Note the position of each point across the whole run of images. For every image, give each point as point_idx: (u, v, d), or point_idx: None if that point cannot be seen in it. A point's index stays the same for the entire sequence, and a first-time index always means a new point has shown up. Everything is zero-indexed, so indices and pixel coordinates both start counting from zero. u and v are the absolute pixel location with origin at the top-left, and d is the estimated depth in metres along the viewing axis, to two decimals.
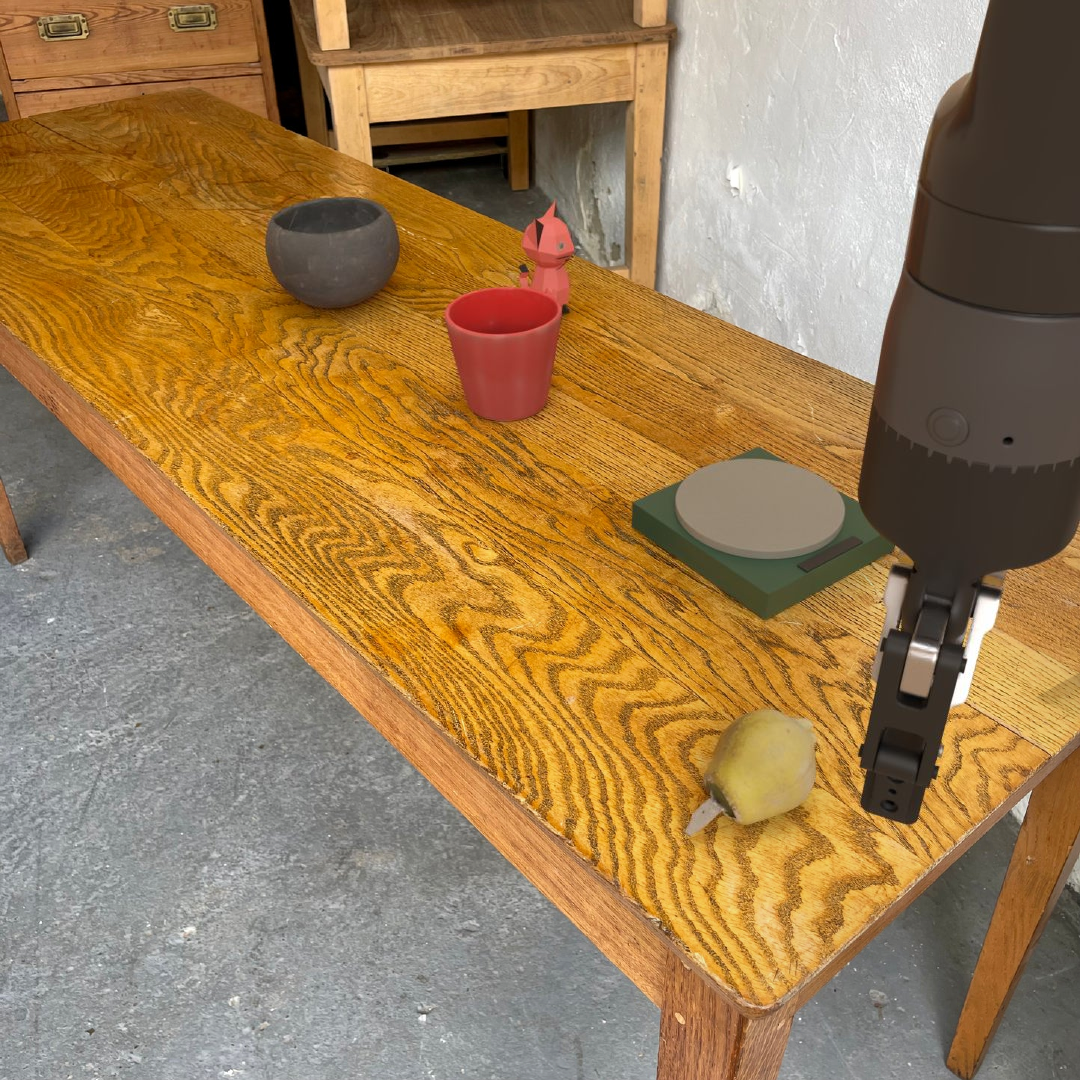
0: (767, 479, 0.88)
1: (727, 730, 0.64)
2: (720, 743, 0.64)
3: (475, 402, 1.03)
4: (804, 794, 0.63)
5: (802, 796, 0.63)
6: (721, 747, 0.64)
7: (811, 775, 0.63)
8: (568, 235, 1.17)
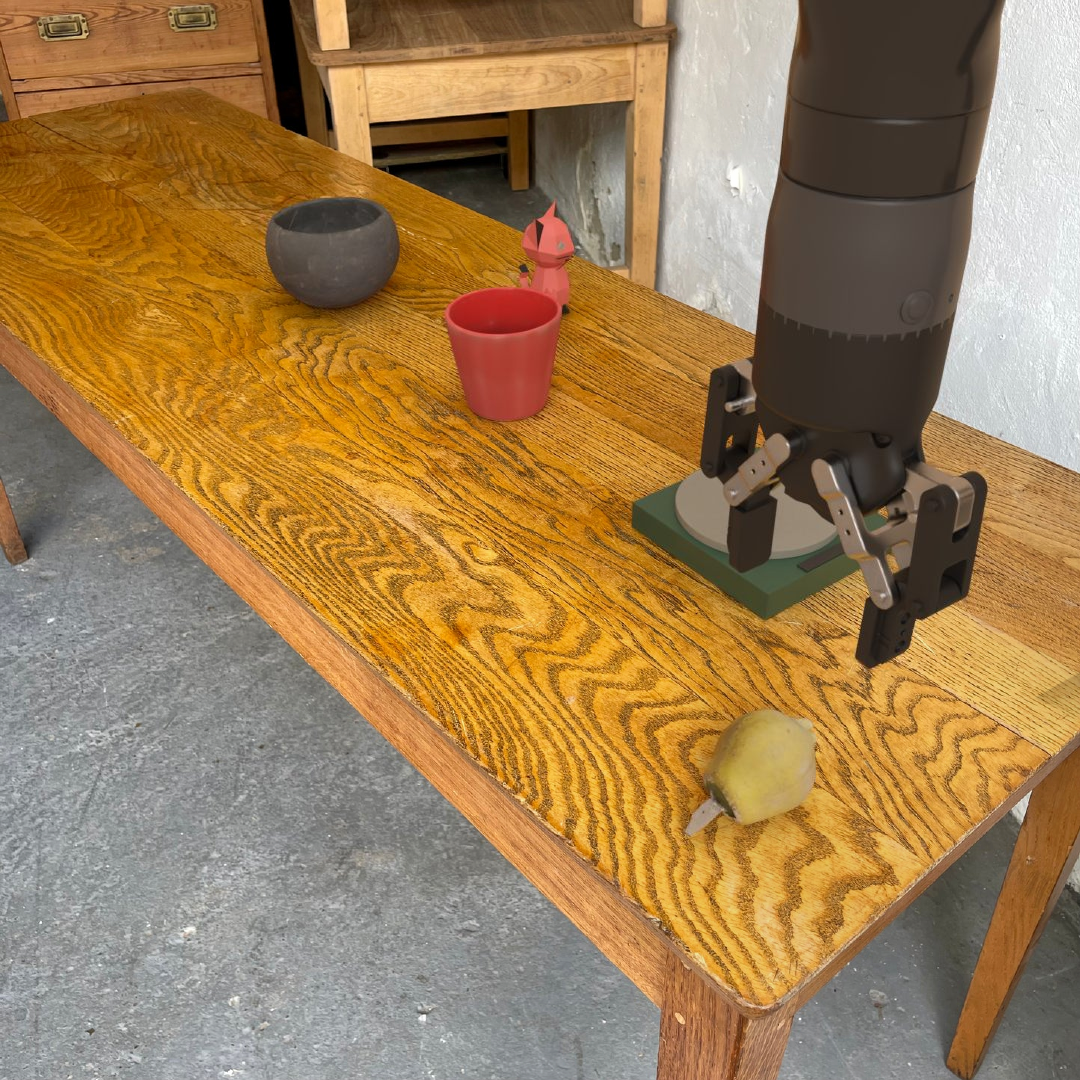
0: None
1: (727, 730, 0.64)
2: (720, 743, 0.64)
3: (475, 402, 1.03)
4: (804, 794, 0.63)
5: (802, 796, 0.63)
6: (721, 747, 0.64)
7: (811, 775, 0.63)
8: (568, 235, 1.17)
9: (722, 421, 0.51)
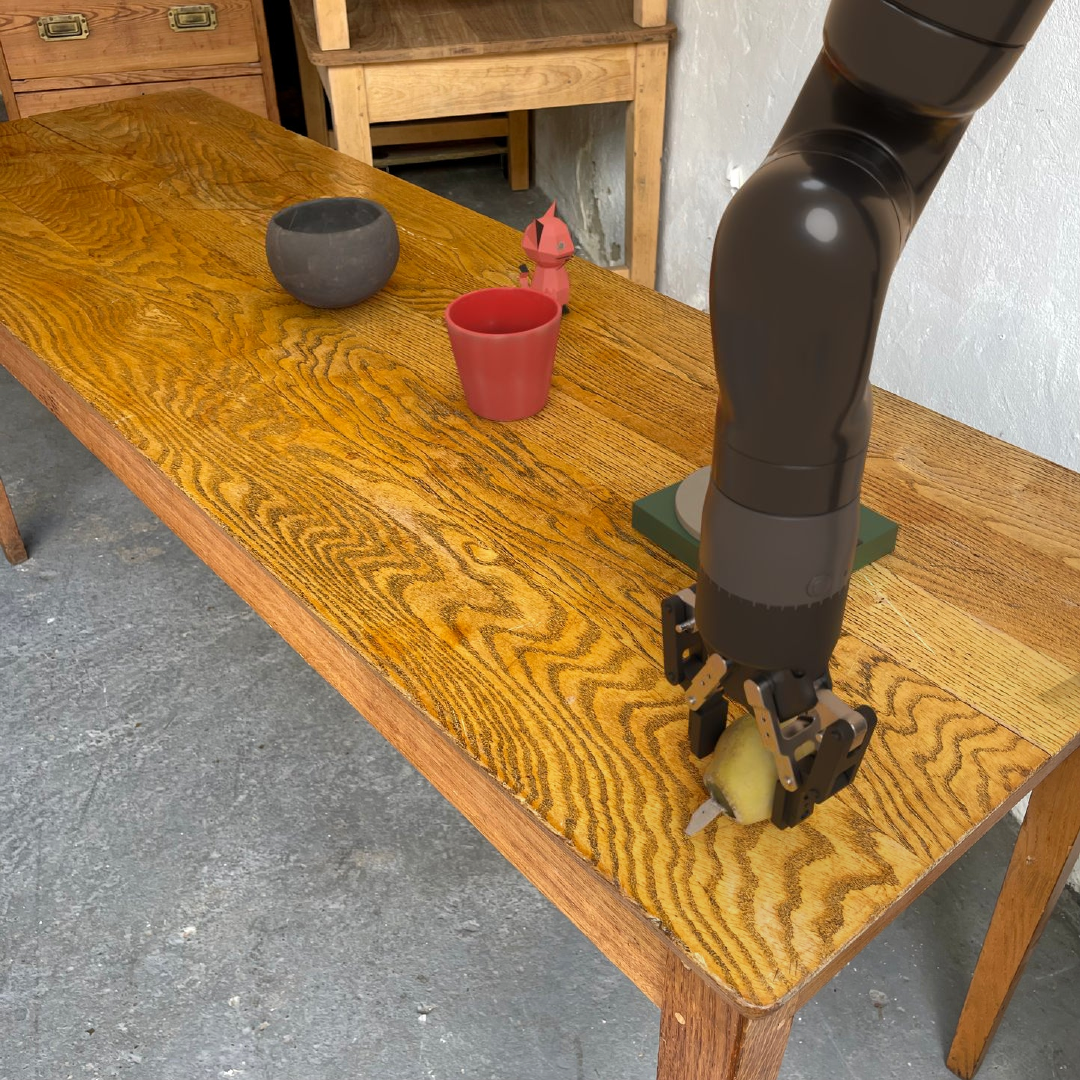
0: None
1: (727, 730, 0.64)
2: (720, 743, 0.64)
3: (475, 402, 1.03)
4: None
5: None
6: (721, 747, 0.64)
7: None
8: (568, 235, 1.17)
9: (675, 640, 0.63)
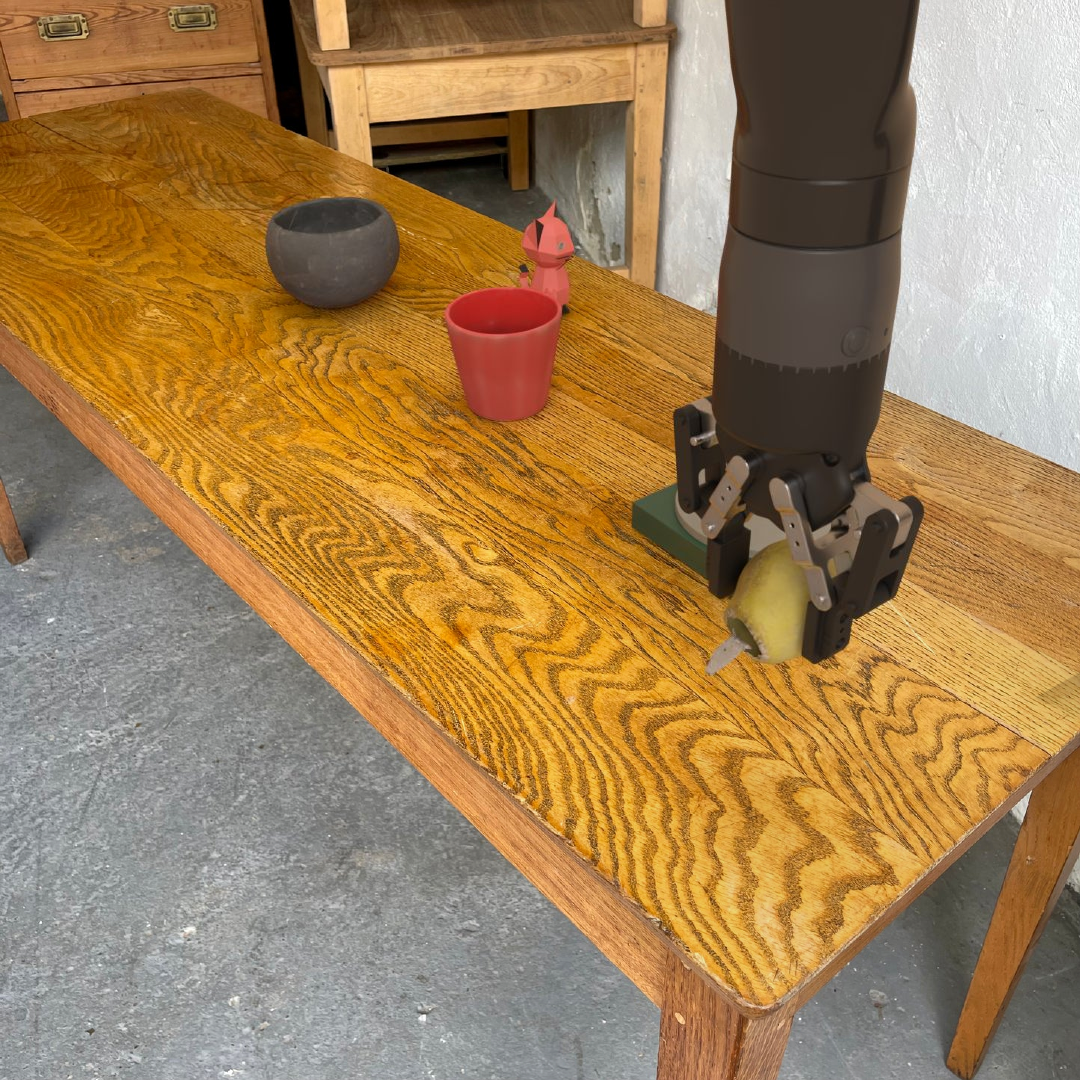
0: None
1: (750, 561, 0.57)
2: (742, 576, 0.57)
3: (475, 402, 1.03)
4: None
5: None
6: (743, 579, 0.57)
7: None
8: (568, 235, 1.17)
9: (690, 456, 0.56)
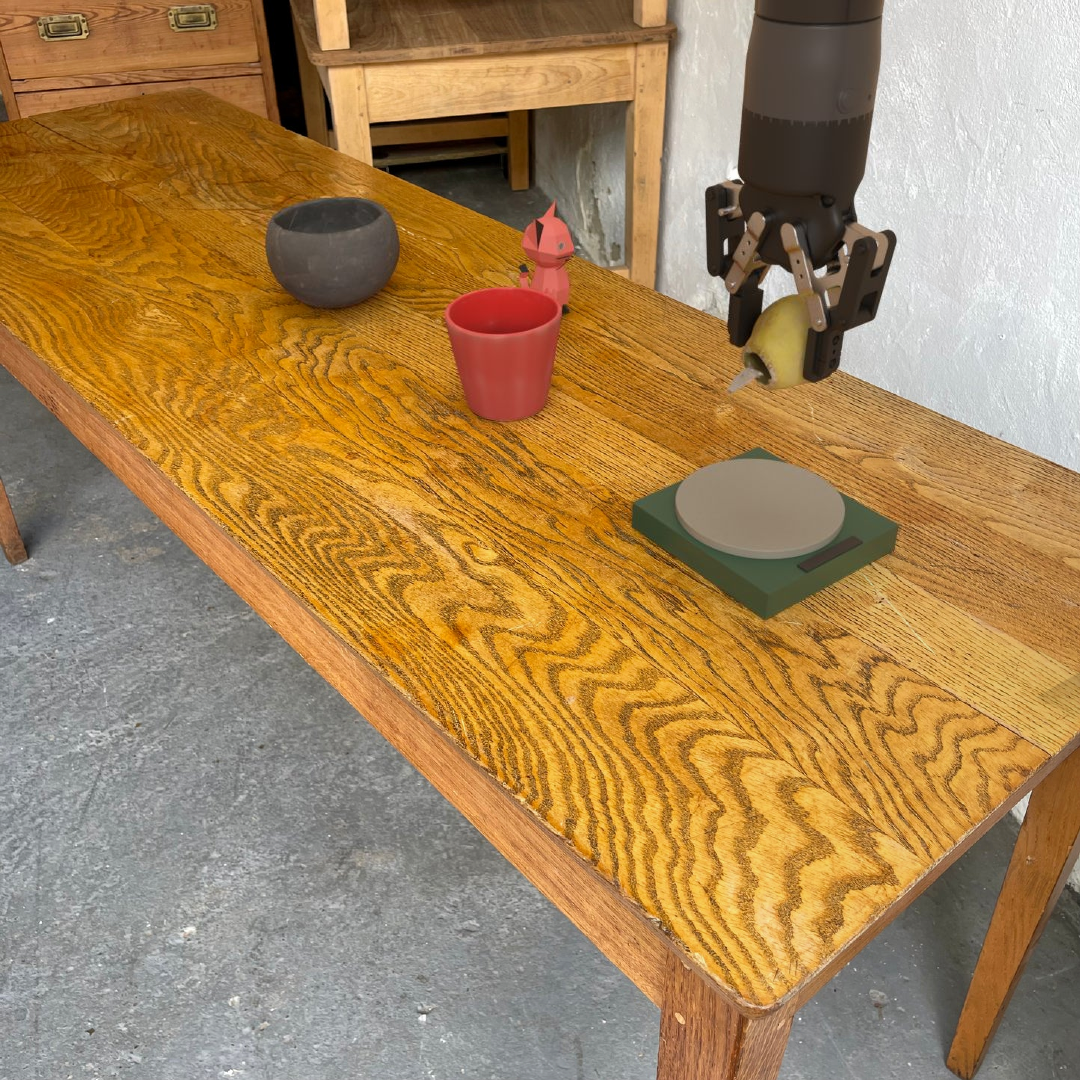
0: (767, 479, 0.88)
1: (762, 312, 0.74)
2: (756, 322, 0.73)
3: (475, 402, 1.03)
4: None
5: None
6: (757, 324, 0.73)
7: None
8: (568, 235, 1.17)
9: (718, 225, 0.72)
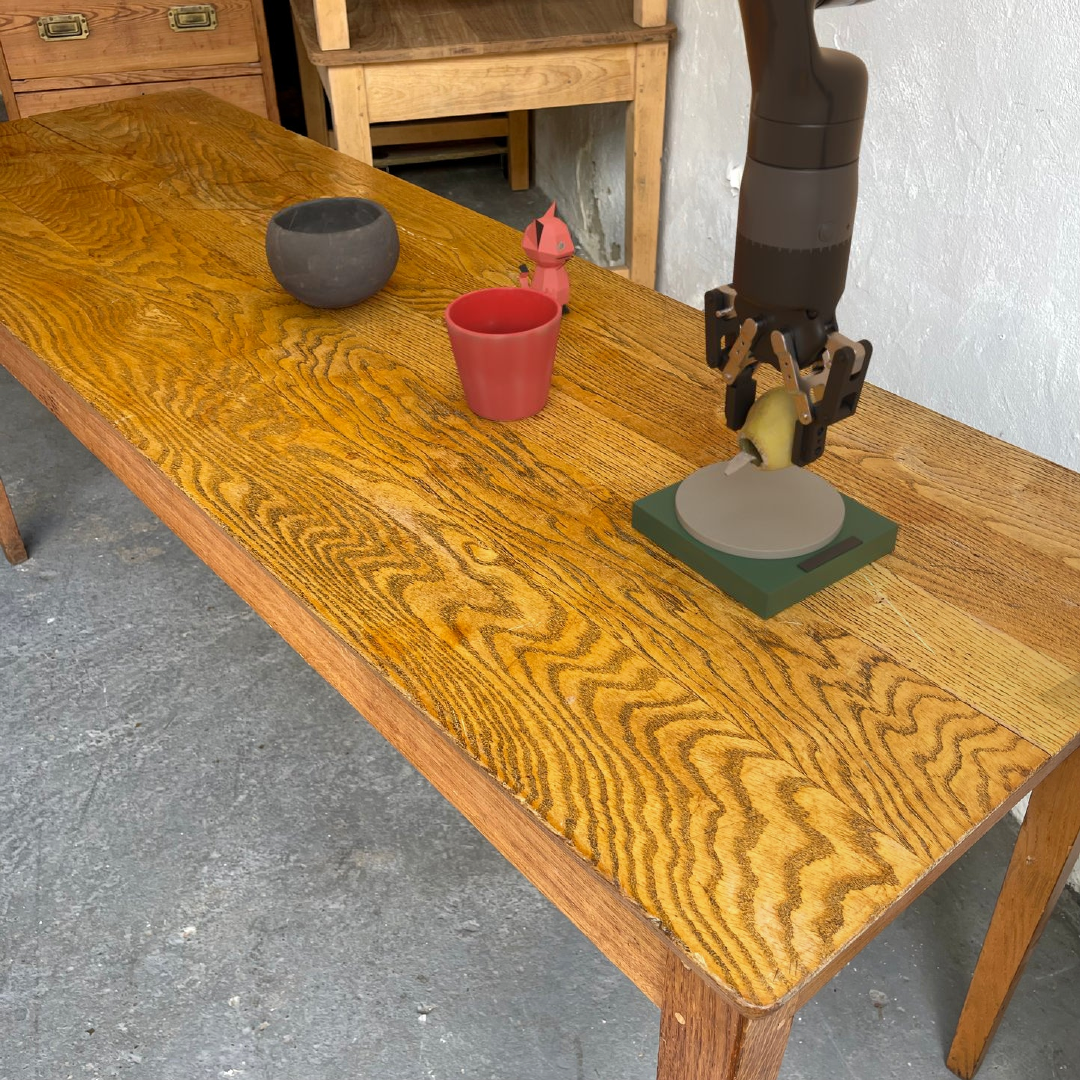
0: (767, 479, 0.88)
1: (755, 401, 0.82)
2: (750, 410, 0.82)
3: (475, 402, 1.03)
4: None
5: None
6: (751, 412, 0.82)
7: None
8: (568, 235, 1.17)
9: (715, 325, 0.81)
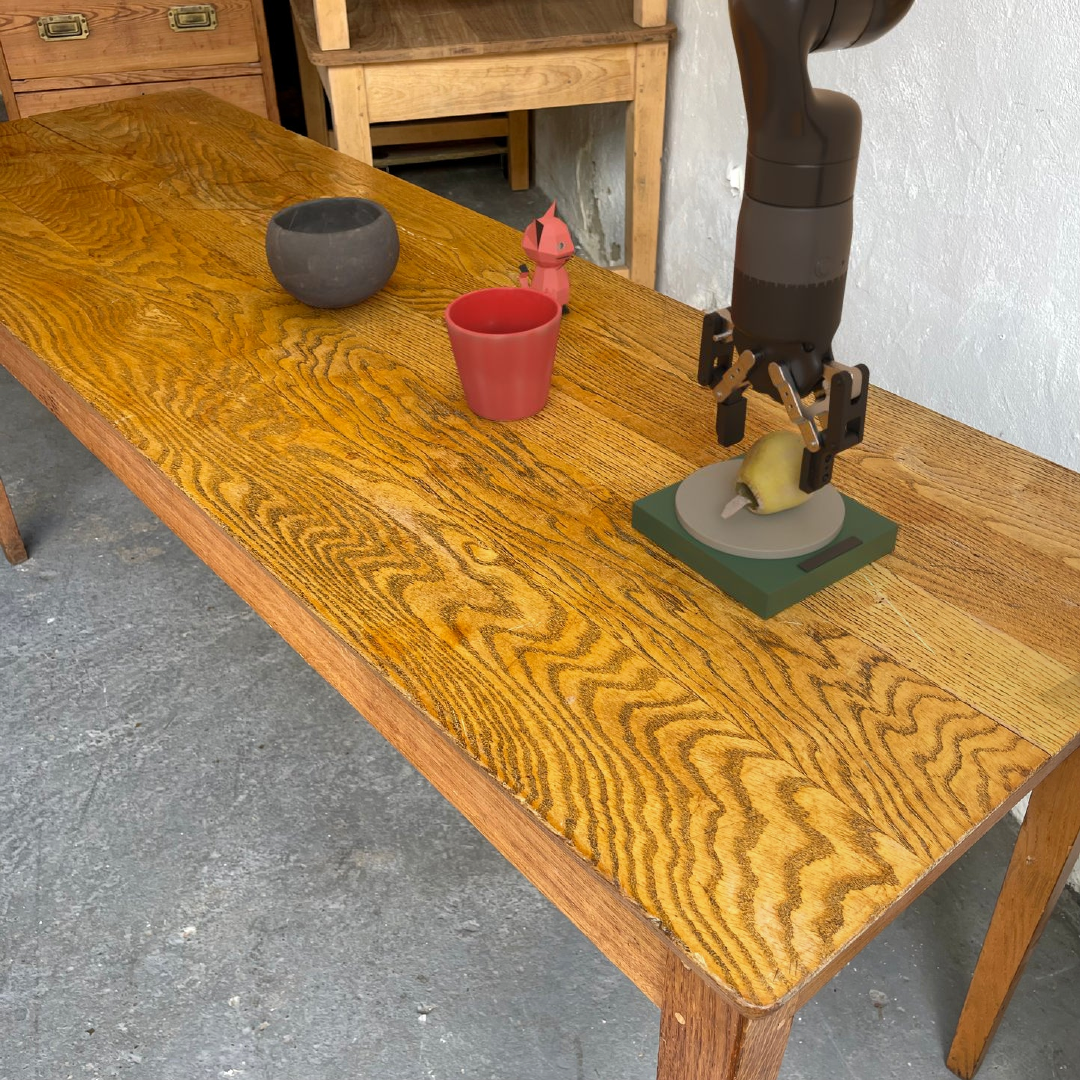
0: None
1: None
2: (746, 455, 0.84)
3: (475, 402, 1.03)
4: None
5: None
6: (747, 457, 0.84)
7: None
8: (568, 235, 1.17)
9: (711, 348, 0.82)
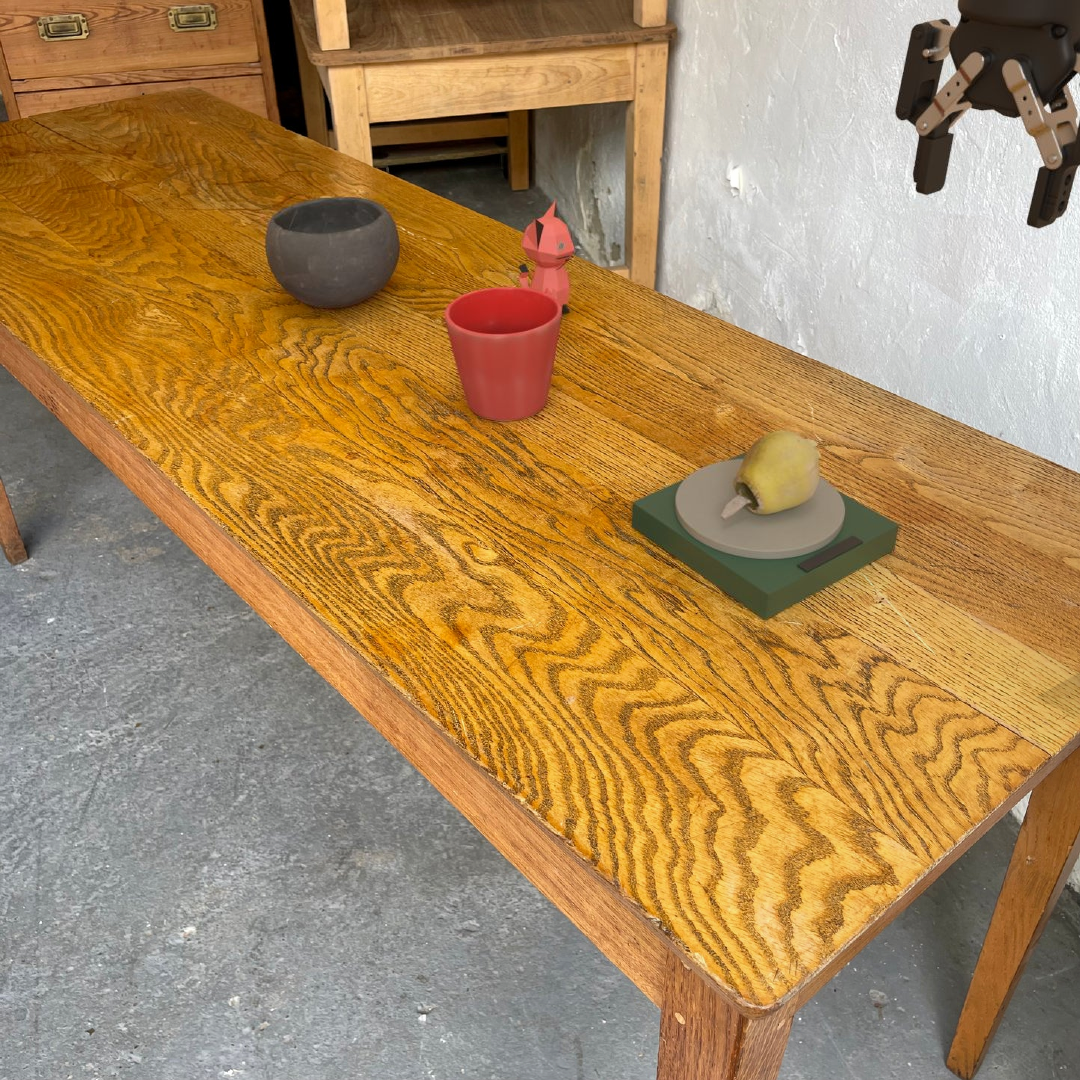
0: None
1: None
2: (746, 455, 0.84)
3: (475, 402, 1.03)
4: (810, 489, 0.83)
5: (809, 490, 0.83)
6: (747, 457, 0.84)
7: (816, 474, 0.83)
8: (568, 235, 1.17)
9: (919, 67, 0.71)
